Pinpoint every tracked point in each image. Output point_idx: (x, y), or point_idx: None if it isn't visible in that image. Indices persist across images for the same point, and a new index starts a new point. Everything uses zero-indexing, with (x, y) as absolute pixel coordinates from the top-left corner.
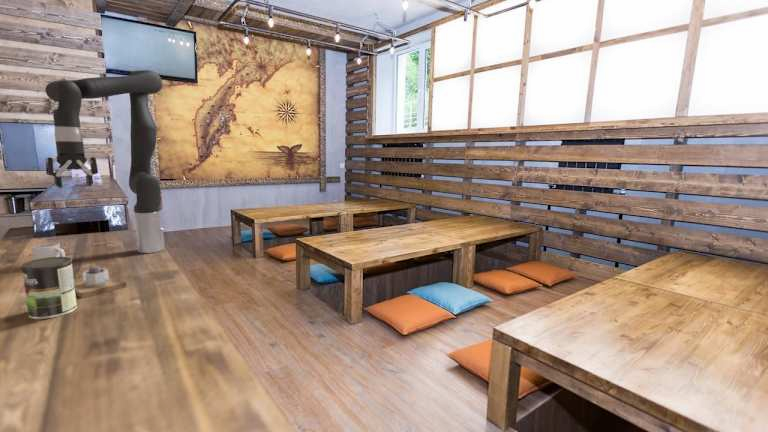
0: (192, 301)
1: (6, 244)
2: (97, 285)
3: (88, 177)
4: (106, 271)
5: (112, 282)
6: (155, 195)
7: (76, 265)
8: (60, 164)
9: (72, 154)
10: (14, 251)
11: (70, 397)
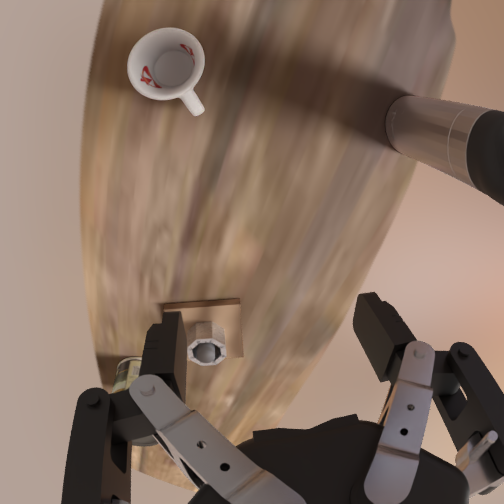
0: (271, 424)
1: None
2: None
3: (376, 372)
4: (222, 358)
5: (227, 346)
6: None
7: (225, 121)
8: (199, 496)
9: None
10: None
11: (150, 466)
